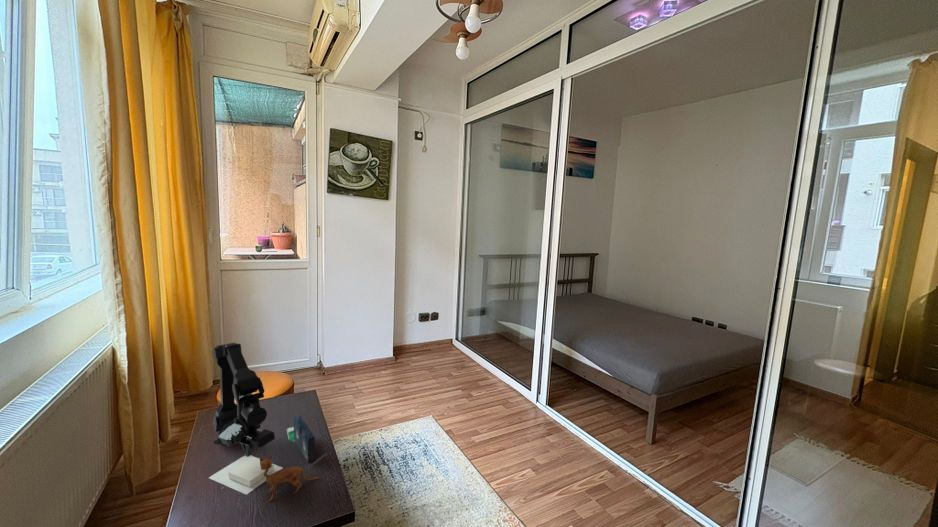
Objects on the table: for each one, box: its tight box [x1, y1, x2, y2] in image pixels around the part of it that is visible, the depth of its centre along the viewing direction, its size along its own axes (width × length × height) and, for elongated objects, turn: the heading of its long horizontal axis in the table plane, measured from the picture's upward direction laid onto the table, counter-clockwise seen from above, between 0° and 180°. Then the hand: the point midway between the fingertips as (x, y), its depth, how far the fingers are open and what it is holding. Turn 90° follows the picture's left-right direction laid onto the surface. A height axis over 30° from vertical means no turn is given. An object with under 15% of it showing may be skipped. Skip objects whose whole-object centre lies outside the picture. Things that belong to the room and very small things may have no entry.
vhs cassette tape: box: [293, 414, 316, 463], centre depth 139 cm, size 18×3×10 cm, turn 39°
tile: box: [228, 456, 274, 487], centre depth 124 cm, size 2×9×10 cm
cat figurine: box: [259, 454, 319, 503], centre depth 119 cm, size 18×7×14 cm, turn 128°
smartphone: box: [286, 426, 296, 443], centre depth 148 cm, size 7×1×15 cm
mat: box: [208, 454, 284, 496], centre depth 125 cm, size 18×14×1 cm
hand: (248, 456), depth 124 cm, fingers closed
